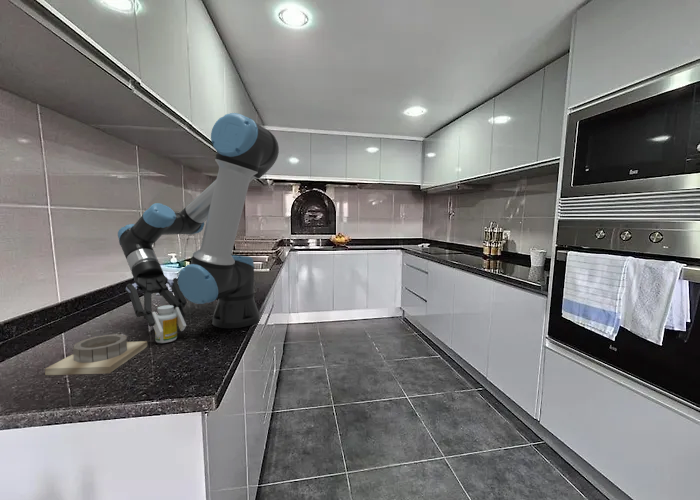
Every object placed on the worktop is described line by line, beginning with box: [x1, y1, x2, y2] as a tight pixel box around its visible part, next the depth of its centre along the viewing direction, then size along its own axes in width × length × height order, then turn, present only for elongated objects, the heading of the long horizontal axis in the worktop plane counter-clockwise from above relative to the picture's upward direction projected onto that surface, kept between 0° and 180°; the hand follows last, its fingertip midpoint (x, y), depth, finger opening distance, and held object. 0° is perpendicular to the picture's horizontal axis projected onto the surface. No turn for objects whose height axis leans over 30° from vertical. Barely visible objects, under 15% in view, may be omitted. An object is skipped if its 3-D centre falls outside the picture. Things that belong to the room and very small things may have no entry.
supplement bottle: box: [154, 304, 178, 344], centre depth 86 cm, size 5×5×10 cm
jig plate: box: [44, 333, 148, 376], centre depth 74 cm, size 13×15×4 cm
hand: (172, 331), depth 84 cm, fingers closed on supplement bottle, 5 cm apart
